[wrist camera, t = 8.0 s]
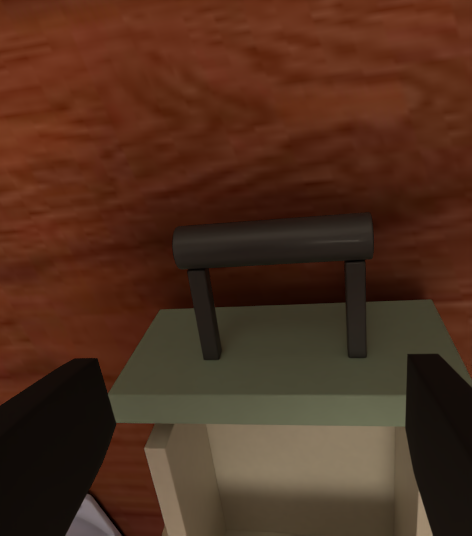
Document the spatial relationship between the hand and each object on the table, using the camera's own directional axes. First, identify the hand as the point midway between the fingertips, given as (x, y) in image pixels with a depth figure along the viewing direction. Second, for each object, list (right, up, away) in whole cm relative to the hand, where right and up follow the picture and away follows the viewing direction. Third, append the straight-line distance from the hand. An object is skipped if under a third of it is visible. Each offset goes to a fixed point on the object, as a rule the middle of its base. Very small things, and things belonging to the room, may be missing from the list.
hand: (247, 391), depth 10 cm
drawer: (+2, -3, +10) cm, 11 cm away
